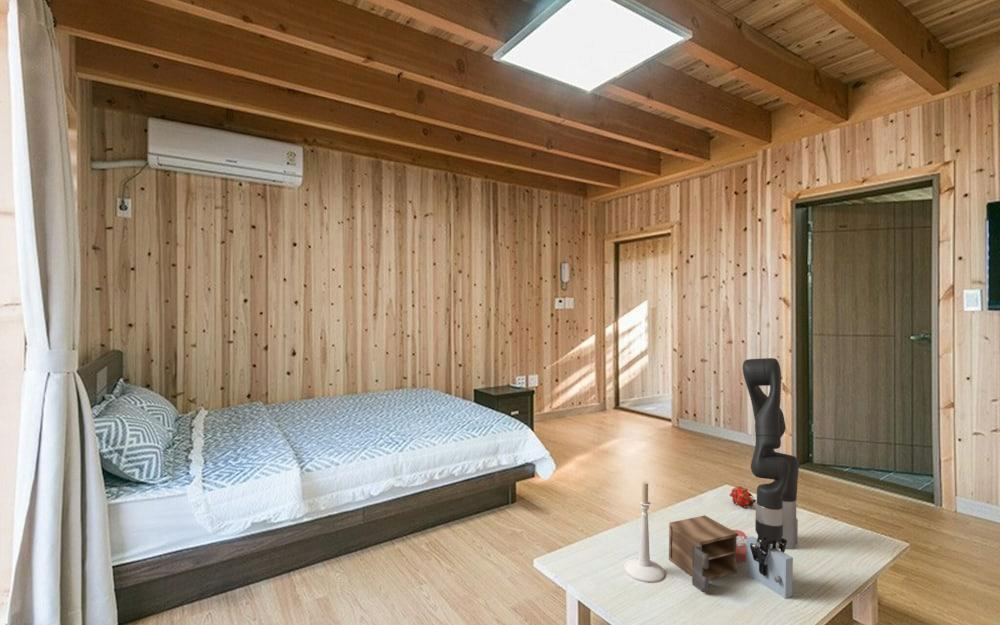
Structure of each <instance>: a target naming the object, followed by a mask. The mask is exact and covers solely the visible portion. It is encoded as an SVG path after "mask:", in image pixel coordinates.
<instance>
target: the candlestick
mask: <svg viewBox="0 0 1000 625" xmlns="http://www.w3.org/2000/svg"><path fill="white" fill-rule="evenodd" d="M639 504H640V508H641V510H642V512H641V518H640V519H641V520H640V533H639V534H640V535H639V546H638V548H639V549H638V551H639V552H638V557H636V558H635V557H634V558H632V559H629V560H627V561H626V562H625V563H624V564H623V570H624V572H625V574H626V575H627V576H628V577H630V578H631V579H633V580H636V581H637V582H638V581H639V582H643V583H648V584H651V583H653V584H654V583H659V582H661V581H662V580H664V578H665V576H666V575H665V574H666V573H665V570H664V568H663V567H662V565H660V564H658V563H657V562H656V561H653V560H651V558H650V533H649V514H648V510H649V509H650V506H651V502H650V501H649V482H648V481H642V482H641V500H639Z"/></svg>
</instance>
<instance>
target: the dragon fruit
mask: <svg viewBox="0 0 1000 625" xmlns="http://www.w3.org/2000/svg"><path fill="white" fill-rule="evenodd" d="M729 497H731V498H732V502H733V505H736V504H737V505H738V506H739V507H741V508H742V509H748V508H747V507H750V508H752V507H753V506H754V503H756V502H757V499H755V497H754V496H753V494H752V493H750V492H749V491H748V489H747V488H744V487H743V486H735V487H734V488H732V489H731V492H730V493H729Z"/></svg>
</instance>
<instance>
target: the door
mask: <svg viewBox="0 0 1000 625" xmlns="http://www.w3.org/2000/svg"><path fill="white" fill-rule="evenodd" d="M757 538H758V537H756V536H753V535H752V536H747V538H746V562H745V574H746V575H747V576H749V577H750V578H751V579H753V580H755V581H757V582H758V583H760V584H762V585H763V586H764V587H766V588H768V590H769V589H770V591H772V592H774V593H776V594H777V595H779V596H781V597H782V599H789V598H792V597H793V582H794V581H793V580H794V579H793V577H794V575H793V572H794V557H793V556H791V555H790V554H787V553H785V552H782V551H781V550H780V549H779V550H778V549H775V548H773V549H771V551H770V557H769V558H768V561H767V576H764V575H762V574H760V572H759V562H757V561H755V560H754V559H753V555H752V551H751V548H750V544H751V543H753V544H755V543H756V542H757ZM763 552H764V551H763ZM764 553H766V552H764ZM762 559H764V556H763V555H762Z"/></svg>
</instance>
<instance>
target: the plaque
mask: <svg viewBox="0 0 1000 625" xmlns="http://www.w3.org/2000/svg"><path fill="white" fill-rule="evenodd" d="M732 530H733V531H735V532H736V533H738V536H737V538H736V562H741V563H742V562H743V563H744V562H745V563H746V538H747V537H748V536H747V535H746V533H745V532H744V531H742V530H738V529H732Z"/></svg>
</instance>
